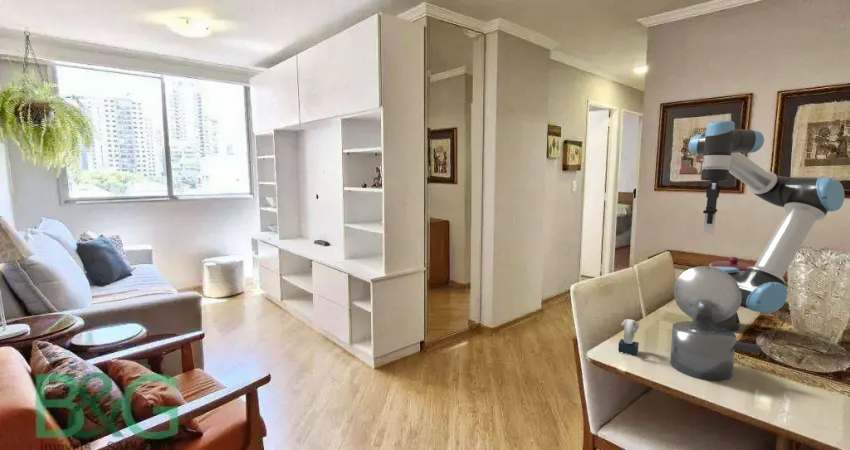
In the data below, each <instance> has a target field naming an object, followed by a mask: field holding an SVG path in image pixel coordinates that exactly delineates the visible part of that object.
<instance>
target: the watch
mask: <svg viewBox="0 0 850 450" xmlns="http://www.w3.org/2000/svg"><path fill="white" fill-rule="evenodd" d="M620 325H621V326H622V327H623V328H624V334H623V338H620V340H619V342H618V350H617V352H618V351H619V352H618V353H620V352H623V353H622V354H625V353H627V354H626V355H629V354H631V355H630V356H634V355H635V356H634V357H637V356H638V353H639V342H637V341H634V339H635V338H634V337H635V334H637V331H638V330H639V327H640V324H639V323H638V322H637V321H636V320H634V319H628V318H627V319H624V320H623V321H622V322H621V324H620Z"/></svg>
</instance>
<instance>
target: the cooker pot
mask: <svg viewBox="0 0 850 450" xmlns="http://www.w3.org/2000/svg"><path fill="white" fill-rule="evenodd" d="M671 327H672V329H671V330H672V332H671V342H670V343H671V345H670V355H669V356H670V359H669V364H670V366H671V367H672V368H673V369H674V370H676V371H678V372H680V373H681V374H683V375H686V376H687V377H688V376H689V377H692V378H694V379H698V380H702V381H703V380H704V381H709V382H726V381H729V380H731V379H732V378H733V376H734V375H733V374H734V365H735V364H734V362H735V352H736V350H737V351H738V350H739V351H744V352H748V353H749V352H750V353H754V354H760V353H761V352H760V351H761V346H760V345H758V344H754V343H747V342H744V341H743V342H742V341H738V340H737V335H736V334H735V333H734V332H733V331H729V330H727V329H724V328H722V327H719V326H715V325H713V324H708V323H702V322H696V321H695V322H693V321H687V320H686V321H684V320H683V321H677V322H675V323H673V324H672V326H671Z"/></svg>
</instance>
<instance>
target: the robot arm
mask: <svg viewBox="0 0 850 450" xmlns="http://www.w3.org/2000/svg"><path fill="white" fill-rule="evenodd" d="M735 126H736V123H735V122H734V121H732V120H717V121H716V120H715V121H711V122H709V123H708V124H707V126H706V130H705V132H704V133H701V134H696V135H694V136H692V137H691V139H689V142H688V150H689V152H690V153H691V154H693V155H696V156H697V155H698V156H701V155H702V156H703V158H701V159H700V162H702V168H703V169H701V172H700V173H701V174H700V180H701V181H707V182H709V183H708V185H706V186H705V191H706V194H705V198H707V200H706V206H705V210H703V214H704V221H703V228H702V229H703V232H702V233H703V234H706V235H714V230H715V222H716V213H717V212H718V209H717V201H718V199H719V197H720V192H721V187H722V186H720V183H719V182H727V181H729V174H731V175H732V176H734V177H735V178H736V179H737V180H739V181H740V182H741V183H743V184H745V185H746V186H747V187H748V189H749V191H750V192H751V193H753V194H754V195H755V196H757V198H760V199H761V200H763V201H765V202H767V203H769V204H772V205H774V206H775V207H781V208H784V210H785V213H784V215H783V217H782V218H781V220H780V222H779V223H778V225H777V227H776V228H775V230H774V232H773V234H772V236H771V237H770V238H769V239H768V242H767V244H766V245H765V247H764V249H763V251H762V252H761V254H760V255H759V257H758V259H757V260H756V262H755V263H754V265H752V266H753V267H748V268H747V269H746V271H745V272H744V274H739V272H740V271H739V269H738V268H734V267H715V268H718V269H721V270H723V271H725V272H726V273H728V274H729V275H731V276H732V277H733V278H734V279H735V280H736V282H737V283H738V285H739V287H740V290H741V294H742V300H741V305H740V307H741V308H745V309H748V310H750V311H752V312H756V313H757V312H758V313H762V314H771V313H775V312H778V311H779V309H781V308H783V306H784V305H785V304H786V301H787V299H788V296H787V295H788V289H787V287H786V286H785V285H786V281H785V279H784V276H785V274H786V272H787V271H788V269H789V268H790V265H791V264H792V262H793V261H794V259H795V257H796V256H797V254H798V252H799V250H800V249H799V248H802V245H803V244H804V242H805V240H806V239H807V237H808V236H809V233H810V232H811V230H812V228H813V226H814V225H815V223H816V222H817V221H821V220H823V219H824V218H825V217H826V215H827V214H828V213H829V212H835V211H839V210H840V209H842V207H843V205H844V202H845V190H844V186H843V184H842V182H840V180H838V179H836V178H833V177H823V176H819V177H806V176H805V177H802V176H801V177H798V176H797V177H792V176H791V177H790V176H789V177H787V176H781V175H777V174H776V173H774V172H772V171H766V170H765V169H764V168H762V167H761V166H760V165H758V164H757V163H755V161H752V160H751V159H750V158H748V157H747V156H746V155H745V154H752V153H753V154H754V153H756V152H758V151H759V150H760V149H762V147H763V145H764V144H765V143H764V142H765V137H764V135H763V133H762V132H761V131H759V130H754V129H740V128H739V129H738V128H736V127H735ZM797 251H798V252H797ZM796 253H797V254H796ZM795 255H796V256H795ZM695 321H696V322H702V321H698V320H695V319H693V318H692V322H695ZM702 323H708V322H702ZM708 324H713V325H715V326H719V327H722V328H724V329H727V330H729V331H731V332H735V331H738V330H740V327H741V321H740V317H739V315H738V311H737V312H736V313H735V314H734V315H733V316H731V317H730V318H728V319H726V320H724V321H720V322H714V323H708Z"/></svg>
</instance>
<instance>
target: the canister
mask: <svg viewBox="0 0 850 450" xmlns="http://www.w3.org/2000/svg"><path fill="white" fill-rule="evenodd" d="M739 260H740V259H739V258H738V257H736V256H731V257H729V258H728V260H721V261H720V260H719V261H713V262H711V263H709V265H708V266H710V267H734V268H738V269H739V271H740V272H739V274H744V272H745V271H746V269H747V268H748V267H753V266H754V265H752V264H749V263H745V262H739Z"/></svg>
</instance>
